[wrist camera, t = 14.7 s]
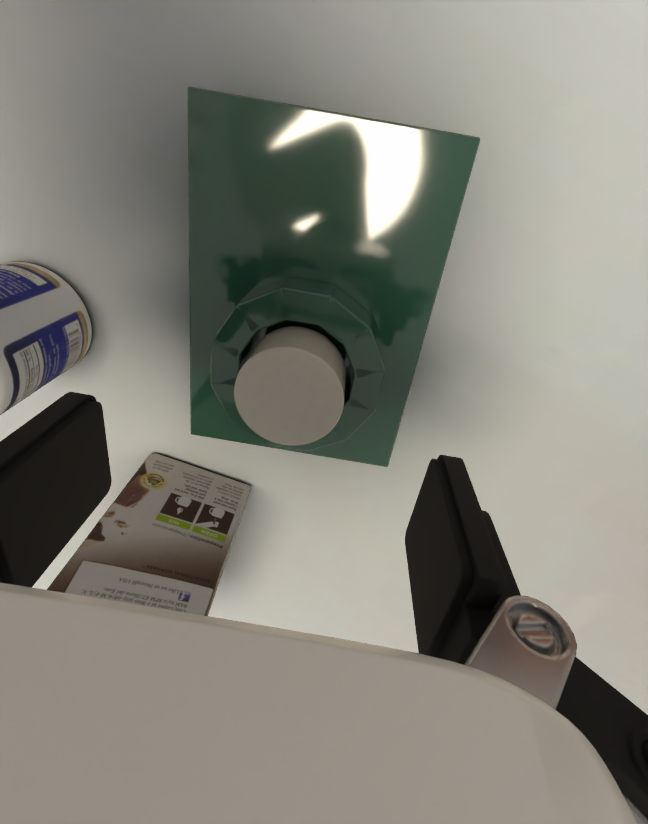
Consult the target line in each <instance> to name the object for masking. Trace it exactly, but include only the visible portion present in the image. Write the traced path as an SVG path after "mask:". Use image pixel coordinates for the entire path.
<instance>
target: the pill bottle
mask: <svg viewBox="0 0 648 824" xmlns="http://www.w3.org/2000/svg"><path fill="white" fill-rule="evenodd" d="M91 338H92V328H91V322H90V318H89V315H88V312H87V310H86V308H85V306H84V304H83V302H82V300H81V299H80V297H79V296H78V295H77V293H76V292H75V291H74V290H73V289H72V287H71V286H70V285H69V284H68V283H67V282H65V281H64V280H63V279H62V278H60V277H59V276H58V275H56V274H55V273H53V272H51V271H49V270H47V269H45V268H43V267H41V266H38V265H35V264H31V263H26V262H9V263H4V264H0V415H1V414H2V413H4V412H5V411H7V410H8V409H10V408H11V407H13V406H15V405H16V404H17V403H19V402H20V401H22V400H23V399H25V398H26V397H28V396H30V395H31V394H32V393H34V392H35V391H37V390H38V389H40V388H41V387H42V386H44V385H45V384H47V383H48V382H50V381H51V380H53V379H54V378H56V377H57V376H59V375H60V374H62V373H63V372H65V371H66V370H67V369H69V368H70V367H72V366H73V365H74V364H76V363H77V362H79V361H80V360H81V359H82V358H83V357H84V355H85V354H86V353H87V351H88V349H89V346H90V343H91Z"/></svg>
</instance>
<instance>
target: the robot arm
mask: <svg viewBox="0 0 648 824" xmlns="http://www.w3.org/2000/svg"><path fill="white" fill-rule="evenodd" d="M110 486H111V473H110V466H109V458H108V450H107V442H106V434H105V426H104V418H103V410H102V405H101V404H100V403H99V402H97V401H96V399H95V397H94V396H92V395H86V394H80V393H74V392H69V393H67V394H65V395H64V396H62V397H61V398H60V399H58V400H57V401H56V402H54V403H53V404H51V405H50V406H49V407H47V408H46V409H45V410H43V411H42V412H40V413H39V414H38V415H36V416H35V417H34V418H32V419H31V420H29V421H28V422H27V423H25V424H24V425H23V426H21V427H20V428H19V429H17V430H16V431H14V432H13V433H12V434H10V435H9V436H8V437H6V438H5V439H3V440H2V441H1V442H0V824H648V715H647V714H646V713H644V712H643V711H642V710H641V709H639V708H638V707H637V706H636V705H634V704H633V703H632V702H631V701H629V700H628V699H627V698H626V697H625V696H623V695H622V694H621V693H620V692H618V691H617V690H616V689H615V688H613V687H612V686H611V685H610V684H608V683H607V682H606V681H605V680H604V679H602V678H601V677H600V676H599V675H597V674H596V673H595V672H594V671H592V670H591V669H590V668H589V667H587V666H586V665H585V664H584V663H583V662H581V661H580V660H579V659H578V658H576V657H575V656H576V649H577V644H576V640H575V637H574V634H573V632H572V631H571V629H570V627H569V625H568V624H567V623H566V622H565V620H564V619H563V618H562V617H561V616H560V615H559V614H558V613H557V612H556V611H554V610H553V609H552V608H551V607H549V606H548V605H546V604H544V603H543V602H541V601H539V600H537V599H534V598H531V597H528V596H521V595H520V592H519V589H518V587H517V584H516V582H515V579H514V576H513V574H512V571H511V569H510V566H509V564H508V561H507V558H506V556H505V553H504V551H503V548H502V545H501V543H500V540H499V538H498V535H497V533H496V530H495V527H494V525H493V522H492V520H491V517H490V515H489V514H488V513H487V512H486V511H482V510H481V508H480V505H479V502H478V500H477V497H476V494H475V492H474V489H473V486H472V483H471V481H470V478H469V475H468V473H467V470H466V467H465V464H464V462H463V460H462V459H461V458H457V457H451V456H445V455H440V456H439V457H438V459H432V460H431V461H430V463H429V466H428V469H427V472H426V475H425V478H424V481H423V484H422V486H421V489H420V492H419V495H418V498H417V501H416V504H415V507H414V510H413V513H412V516H411V518H410V521H409V524H408V527H407V530H406V536H405V545H406V554H407V562H408V570H409V578H410V586H411V594H412V602H413V610H414V618H415V626H416V634H417V642H418V650H419V653H413V652H408V651H403V650H397V649H392V648H387V647H382V646H376V645H371V644H366V643H360V642H355V641H350V640H344V639H338V638H332V637H326V636H321V635H315V634H309V633H303V632H297V631H291V630H286V629H280V628H274V627H268V626H262V625H256V624H251V623H245V622H239V621H233V620H227V619H221V618H215V617H209V616H203V615H197V614H191V613H185V612H179V611H173V610H167V609H161V608H154V607H148V606H142V605H136V604H130V603H124V602H118V601H112V600H106V599H99V598H93V597H87V596H81V595H74V594H68V593H62V592H56V591H49V590H43V589H37V588H32V586H33V585H34V584H35V583H36V581H37V580H38V579H39V578H40V576H41V575H42V574H43V573H44V571H45V570H46V569H47V568H48V566H49V565H50V564H51V563H52V561H53V560H54V559H55V558H56V557H57V555H58V554H59V553H60V552H61V550H62V549H63V548H64V547H65V545H66V544H67V543H68V542H69V540H70V539H71V538H72V537H73V535H74V534H75V533H76V532H77V530H78V529H79V528H80V527H81V525H82V524H83V523H84V522H85V520H86V519H87V518H88V517H89V516H90V514H91V513H92V512H93V511H94V509H95V508H96V507H97V506H98V504H99V503H100V502H101V501H102V499H103V498H104V497H105V496H106V494H107V493H108V491H109V489H110Z"/></svg>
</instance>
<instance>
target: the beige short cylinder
mask: <svg viewBox="0 0 648 824" xmlns="http://www.w3.org/2000/svg"><path fill="white" fill-rule="evenodd" d="M345 383H346V369H345V364H344V361H343V358H342V356H341V354H340V352H339V350H338V349H337V347H336V346H335V345H334V344H333V343H332V342H331V341H330V340H329V339H328V338H326V337H325V336H324V335H322V334H320V333H318V332H316V331H314V330H311V329H308V328H304V327H296V326H295V327H284V328H280V329H276V330H274V331H272V332H270V333H268V334H267V335H265V336H264V337H263V338H262V339H260V340H259V342H258V343H257V344H256V345H255V347H254V348H253V350H252V352H251V353H250V355H249V356H248V358H247V360H246V361H245V363H244V364H243V366H242V368H241V369H240V371H239V373H238V375H237V377H236V381H235V386H234V398H235V403H236V407H237V410H238V412H239V414H240V416H241V417H242V419H243V421H244V422H245V423H246V424H247V426H248V427H249V428H250V429H252V430H253V431H254V432H255V433H256V434H258V435H259V436H261V437H263V438H264V439H267V440H269V441H271V442H274V443H278V444H282V445H304V444H308V443H312V442H314V441H317V440H319V439H321V438H322V437H324V436H325V435H327V434H328V433H329V432H330V431H331V430H332V429H333V428H334V427H335V426H336V424H337V423H338V421H339V419H340V417H341V415H342V411H343V407H344V397H345Z"/></svg>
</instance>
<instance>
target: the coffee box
mask: <svg viewBox="0 0 648 824" xmlns="http://www.w3.org/2000/svg"><path fill="white" fill-rule="evenodd" d="M249 492H250V486H249V485H246V484H244V483H241V482H238V481H235V480H232V479H229V478H226V477H223V476H220V475H217V474H214V473H212V472H209V471H206V470H203V469H200V468H197V467H194V466H191V465H189V464H186V463H183V462H180V461H177V460H174V459H171V458H168V457H165V456H162V455H159V454H156V453H154V454H151V455H150V456H149V457H148V458H147V459H146V460H145V462H144V463H143V464H142V466H141V467H140V468H139V470H138V471H137V472H136V473H135V475H134V476H133V477H132V479H131V480H130V481H129V483H128V484H127V485H126V487H125V488H124V489H123V490H122V492H121V493H120V494H119V496H118V497H117V499H116V500H115V501H114V503H113V504H112V505H111V506H110V507H109V509H108V510H107V511H106V513H105V514H104V515H103V516H102V518H101V519H100V520H99V522H98V523H97V524H96V526H95V527H94V529H93V530H92V531H91V533H90V534H89V535H88V537H87V538H86V539H85V541H84V542H83V543H82V544H81V546H80V547H79V548H78V550H77V551H76V552H75V554H74V555H73V556H72V558H71V559H70V560H69V561H68V563H67V564H66V565H65V567H64V568H63V569H62V571H61V572H60V573H59V574H58V576H57V577H56V578H55V580H54V581H53V582H52V584H51V585H50V586H49V588H48V589H47V590H49V591H56V592H62V593H68V594H74V595H81V596H87V597H93V598H99V599H106V600H112V601H118V602H124V603H130V604H136V605H142V606H148V607H154V608H161V609H167V610H173V611H179V612H185V613H191V614H197V615H203V616H208V613H209V611H210V608H211V605H212V602H213V599H214V596H215V593H216V590H217V587H218V584H219V581H220V578H221V575H222V572H223V569H224V566H225V563H226V560H227V557H228V554H229V551H230V548H231V545H232V542H233V539H234V536H235V533H236V530H237V527H238V524H239V521H240V518H241V515H242V512H243V510H244V507H245V504H246V501H247V498H248V495H249Z"/></svg>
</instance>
